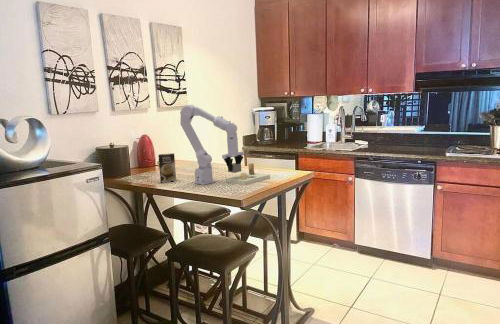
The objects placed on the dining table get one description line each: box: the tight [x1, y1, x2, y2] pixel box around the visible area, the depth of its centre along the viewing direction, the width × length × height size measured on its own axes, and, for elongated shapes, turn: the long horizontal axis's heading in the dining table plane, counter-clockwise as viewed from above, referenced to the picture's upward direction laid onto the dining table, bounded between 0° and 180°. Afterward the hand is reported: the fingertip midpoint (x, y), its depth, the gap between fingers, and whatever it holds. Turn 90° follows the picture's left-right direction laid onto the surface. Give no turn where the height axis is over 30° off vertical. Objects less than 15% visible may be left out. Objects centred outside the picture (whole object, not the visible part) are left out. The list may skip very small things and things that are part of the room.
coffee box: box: [158, 153, 177, 183], centre depth 219 cm, size 9×6×16 cm
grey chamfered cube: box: [227, 162, 242, 174], centre depth 208 cm, size 5×5×4 cm
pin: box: [247, 163, 255, 175], centre depth 216 cm, size 3×3×6 cm
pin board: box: [225, 172, 271, 186], centre depth 210 cm, size 20×15×5 cm
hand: (234, 169), depth 208 cm, fingers closed on grey chamfered cube, 5 cm apart
